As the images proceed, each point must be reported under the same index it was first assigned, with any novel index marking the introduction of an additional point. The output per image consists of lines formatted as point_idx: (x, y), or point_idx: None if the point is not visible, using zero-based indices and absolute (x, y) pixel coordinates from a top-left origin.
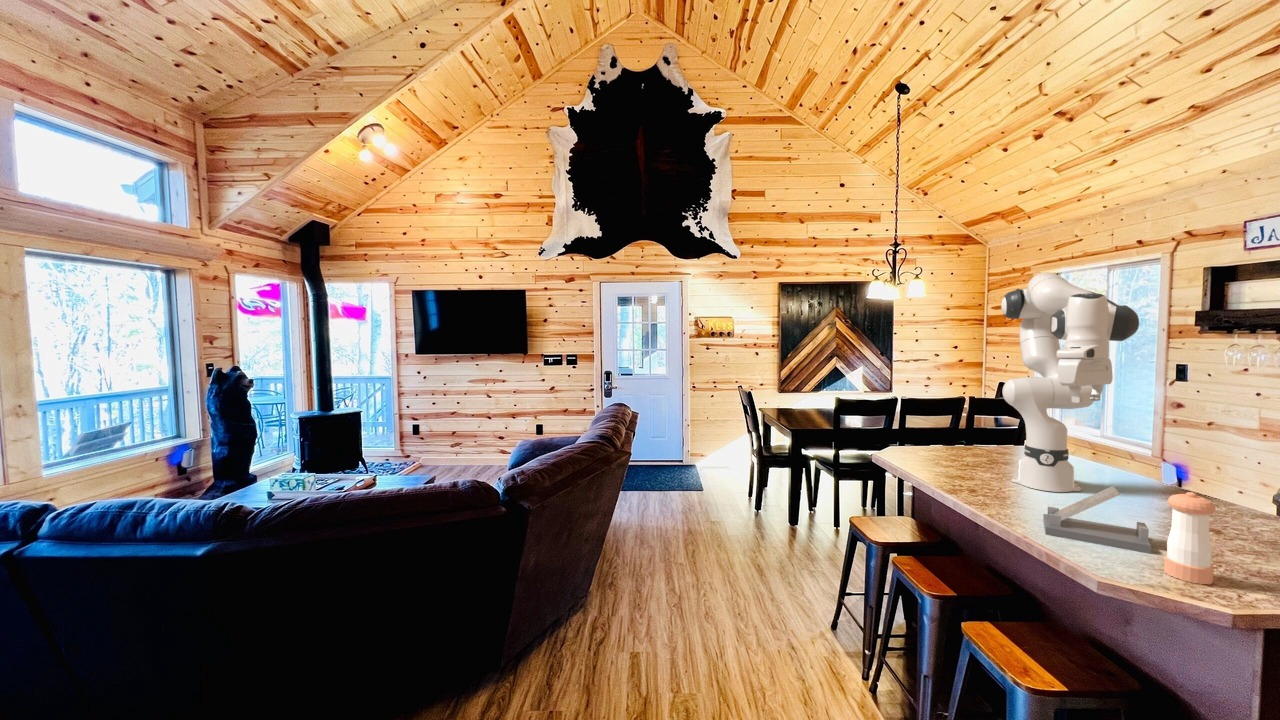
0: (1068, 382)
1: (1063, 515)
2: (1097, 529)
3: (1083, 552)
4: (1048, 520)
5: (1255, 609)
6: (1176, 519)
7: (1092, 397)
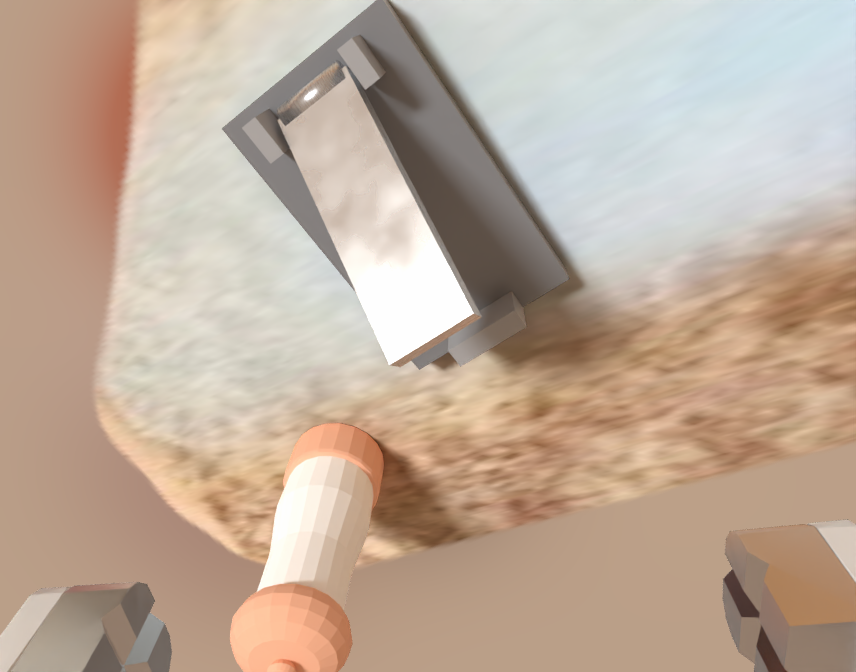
0: None
1: (297, 158)
2: None
3: (213, 279)
4: (312, 75)
5: None
6: (262, 576)
7: (762, 602)
